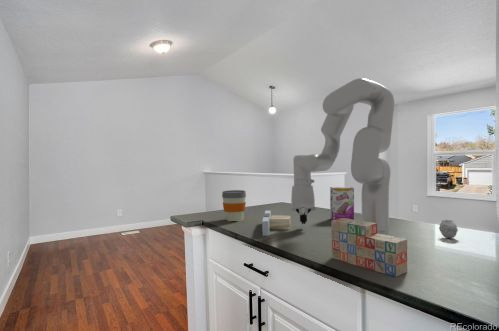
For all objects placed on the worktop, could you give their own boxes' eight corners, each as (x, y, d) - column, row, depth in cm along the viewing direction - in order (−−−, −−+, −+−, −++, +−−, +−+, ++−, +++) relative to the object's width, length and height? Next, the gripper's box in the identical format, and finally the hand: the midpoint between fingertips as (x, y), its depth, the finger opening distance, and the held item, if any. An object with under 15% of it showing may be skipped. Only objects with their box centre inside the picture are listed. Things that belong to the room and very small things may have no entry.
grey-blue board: (268, 235, 130) (268, 220, 130) (262, 235, 131) (262, 220, 131) (270, 222, 156) (270, 209, 156) (265, 222, 157) (265, 210, 156)
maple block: (289, 229, 141) (289, 218, 141) (269, 229, 143) (269, 218, 143) (290, 226, 148) (290, 215, 148) (271, 226, 150) (271, 215, 149)
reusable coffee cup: (246, 222, 159) (245, 192, 159) (221, 222, 159) (220, 193, 159) (246, 217, 171) (246, 189, 171) (223, 217, 172) (223, 190, 171)
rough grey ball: (454, 236, 123) (454, 218, 123) (461, 240, 116) (460, 222, 116) (436, 235, 124) (436, 217, 124) (442, 240, 118) (442, 221, 118)
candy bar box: (331, 220, 158) (331, 187, 157) (330, 218, 163) (329, 186, 162) (354, 220, 156) (354, 187, 156) (352, 218, 161) (351, 186, 161)
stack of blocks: (408, 272, 87) (407, 228, 87) (396, 277, 83) (395, 231, 83) (343, 254, 104) (343, 217, 104) (331, 258, 101) (330, 219, 100)
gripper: (318, 181, 144) (319, 221, 145) (285, 182, 146) (286, 221, 146) (320, 183, 137) (321, 225, 137) (285, 183, 138) (286, 225, 139)
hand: (303, 223), depth 142 cm, fingers closed
